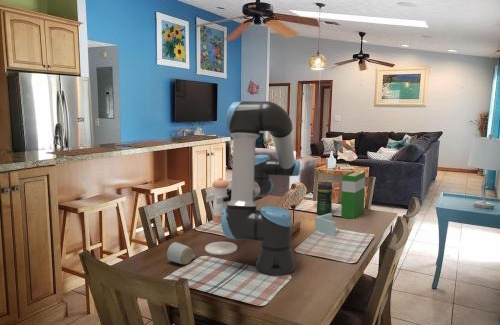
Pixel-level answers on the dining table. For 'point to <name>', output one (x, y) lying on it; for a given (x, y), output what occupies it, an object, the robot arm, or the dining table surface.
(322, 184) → the coffee jar
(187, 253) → the ceramic mug
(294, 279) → the dining table surface
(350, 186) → the hardback book
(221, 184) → the pepper shaker
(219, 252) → the cream saucer
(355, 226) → the dining table surface
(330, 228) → the l-shaped corner panel
